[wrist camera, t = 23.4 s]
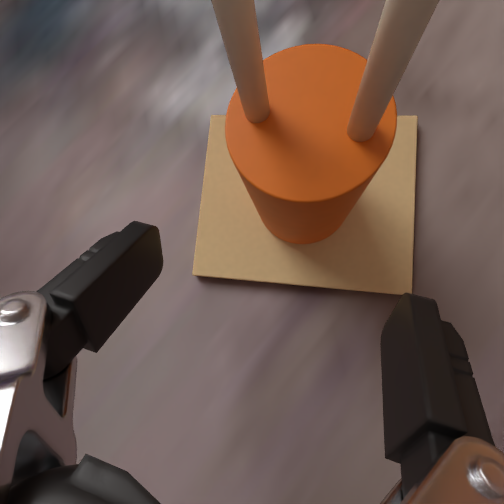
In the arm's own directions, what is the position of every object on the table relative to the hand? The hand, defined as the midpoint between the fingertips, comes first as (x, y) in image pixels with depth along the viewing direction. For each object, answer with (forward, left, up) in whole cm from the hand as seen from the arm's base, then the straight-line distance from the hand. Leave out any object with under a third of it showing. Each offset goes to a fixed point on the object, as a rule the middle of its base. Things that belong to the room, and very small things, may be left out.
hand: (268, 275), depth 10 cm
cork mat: (-1, -5, -7) cm, 9 cm away
